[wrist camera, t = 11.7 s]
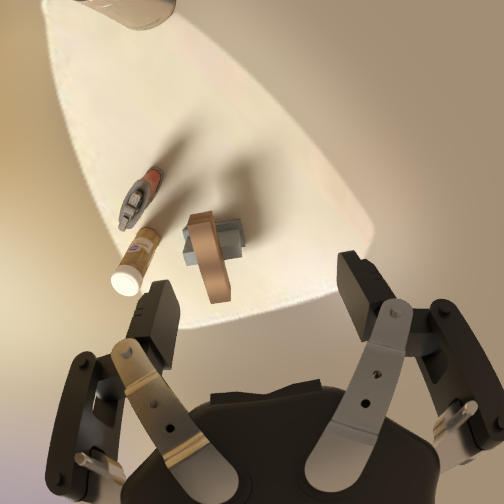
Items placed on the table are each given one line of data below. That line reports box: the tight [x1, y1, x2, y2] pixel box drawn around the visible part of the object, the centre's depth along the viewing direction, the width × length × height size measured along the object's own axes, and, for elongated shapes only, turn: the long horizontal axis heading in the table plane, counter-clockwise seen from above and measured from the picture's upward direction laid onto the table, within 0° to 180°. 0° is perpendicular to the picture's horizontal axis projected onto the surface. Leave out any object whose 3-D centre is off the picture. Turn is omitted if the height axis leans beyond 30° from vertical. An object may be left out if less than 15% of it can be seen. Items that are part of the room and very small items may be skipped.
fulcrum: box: [183, 219, 245, 266], centre depth 45 cm, size 5×10×6 cm, turn 99°
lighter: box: [118, 167, 163, 232], centre depth 37 cm, size 8×3×10 cm, turn 146°
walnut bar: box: [187, 211, 231, 304], centre depth 40 cm, size 14×3×4 cm, turn 9°
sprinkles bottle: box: [111, 228, 159, 296], centre depth 41 cm, size 5×5×14 cm
